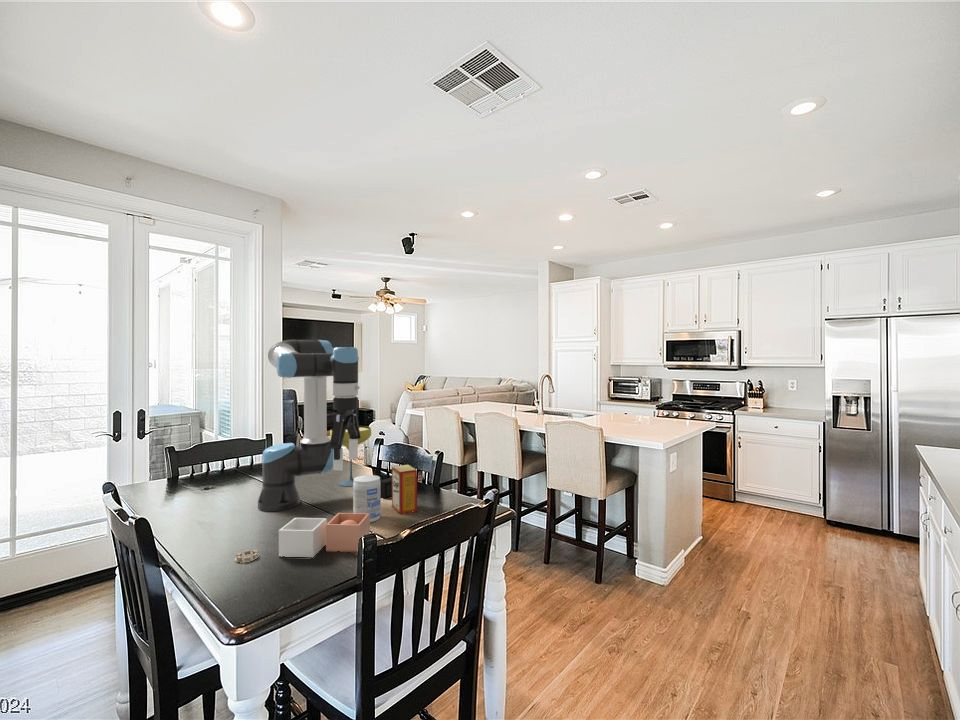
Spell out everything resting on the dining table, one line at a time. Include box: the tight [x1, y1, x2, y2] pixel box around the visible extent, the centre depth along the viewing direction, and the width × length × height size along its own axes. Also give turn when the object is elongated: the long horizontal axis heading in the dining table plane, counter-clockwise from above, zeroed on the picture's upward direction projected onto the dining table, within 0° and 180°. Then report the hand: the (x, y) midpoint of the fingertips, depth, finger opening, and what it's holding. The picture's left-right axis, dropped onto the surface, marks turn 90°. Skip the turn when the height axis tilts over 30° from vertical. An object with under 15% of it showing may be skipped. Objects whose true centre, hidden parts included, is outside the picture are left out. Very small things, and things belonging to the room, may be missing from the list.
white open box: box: [278, 517, 328, 559], centre depth 138 cm, size 10×10×8 cm
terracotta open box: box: [325, 512, 371, 553], centre depth 142 cm, size 10×10×8 cm
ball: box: [341, 520, 358, 525], centre depth 142 cm, size 7×7×7 cm
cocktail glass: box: [329, 425, 372, 488], centre depth 209 cm, size 18×18×25 cm
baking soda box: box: [391, 464, 418, 515], centre depth 175 cm, size 10×6×16 cm
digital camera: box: [380, 476, 392, 500], centre depth 191 cm, size 10×5×7 cm, turn 143°
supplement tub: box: [352, 474, 382, 523], centre depth 164 cm, size 10×10×15 cm
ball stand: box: [234, 549, 259, 564], centre depth 133 cm, size 6×6×1 cm
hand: (346, 464), depth 144 cm, fingers open, 13 cm apart
